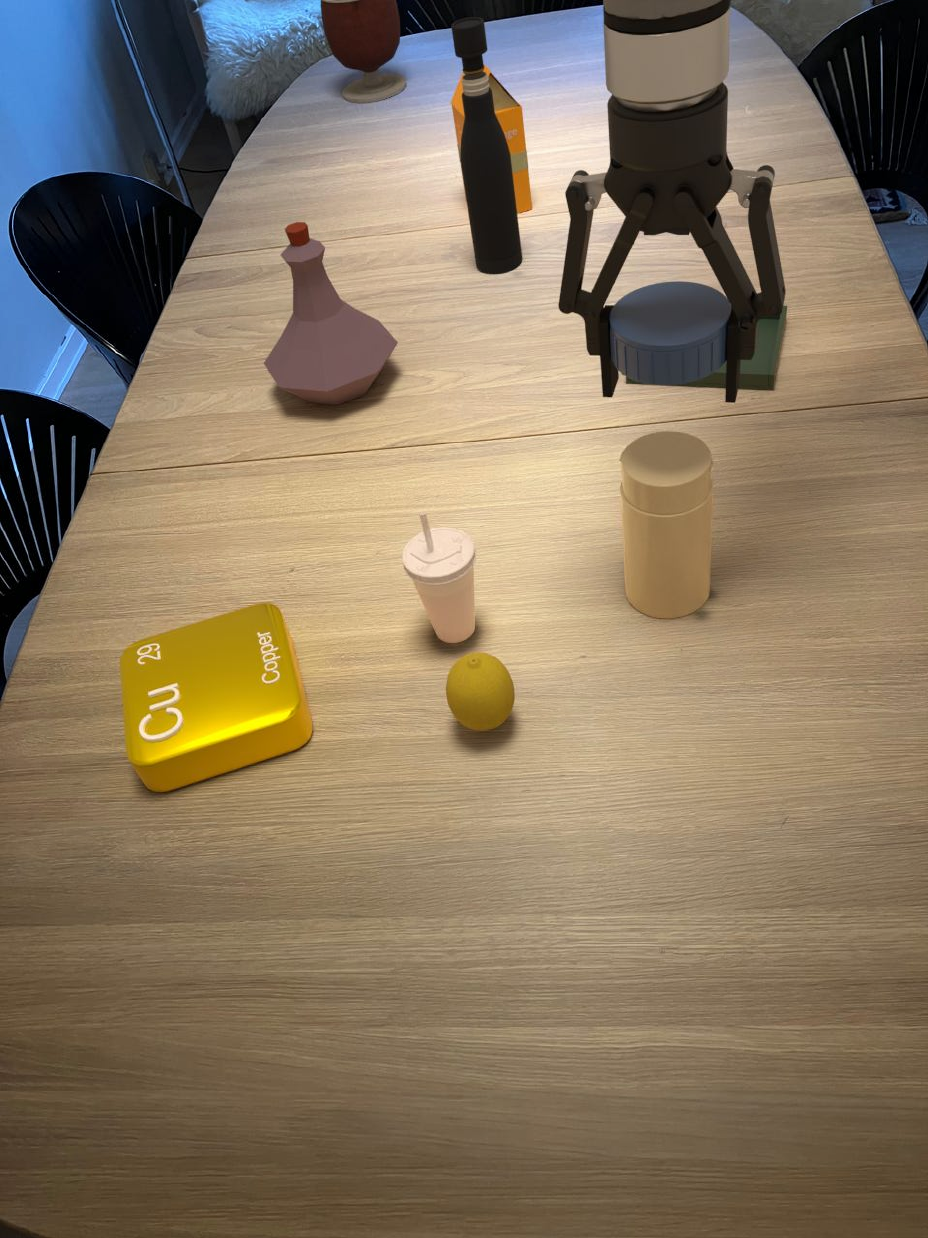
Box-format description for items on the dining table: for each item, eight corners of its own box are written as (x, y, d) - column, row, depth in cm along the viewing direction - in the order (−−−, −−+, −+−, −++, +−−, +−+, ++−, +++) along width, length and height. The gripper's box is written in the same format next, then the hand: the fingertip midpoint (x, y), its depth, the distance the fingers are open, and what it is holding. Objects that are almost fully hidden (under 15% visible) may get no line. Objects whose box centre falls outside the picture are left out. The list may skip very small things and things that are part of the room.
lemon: (444, 741, 86) (428, 680, 80) (468, 691, 89) (453, 629, 84) (507, 755, 84) (494, 693, 78) (528, 704, 87) (518, 640, 82)
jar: (715, 564, 95) (720, 432, 85) (703, 623, 91) (706, 491, 80) (633, 556, 98) (628, 426, 87) (617, 613, 93) (609, 483, 82)
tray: (786, 320, 121) (787, 305, 120) (773, 390, 112) (774, 374, 111) (648, 316, 126) (648, 302, 125) (626, 383, 117) (625, 368, 116)
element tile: (318, 745, 88) (303, 709, 84) (145, 801, 86) (123, 767, 83) (289, 627, 98) (275, 591, 95) (135, 675, 97) (115, 641, 93)
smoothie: (423, 605, 97) (394, 490, 87) (490, 600, 96) (469, 483, 87) (418, 656, 93) (387, 541, 83) (489, 651, 92) (466, 534, 82)
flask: (334, 439, 118) (287, 278, 104) (246, 397, 127) (192, 244, 113) (432, 369, 125) (401, 209, 111) (342, 333, 134) (303, 182, 120)
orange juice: (512, 187, 157) (496, 45, 143) (533, 208, 151) (518, 62, 137) (464, 201, 156) (443, 59, 142) (483, 223, 150) (463, 78, 136)
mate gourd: (338, 84, 201) (312, -33, 187) (408, 70, 200) (387, -48, 186) (340, 113, 190) (312, -9, 176) (414, 98, 190) (392, -25, 175)
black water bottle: (531, 260, 141) (505, 18, 119) (493, 278, 139) (460, 35, 117) (504, 246, 145) (474, 9, 123) (467, 263, 143) (429, 26, 121)
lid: (600, 383, 77) (597, 343, 75) (623, 318, 83) (621, 279, 80) (722, 388, 74) (723, 347, 72) (737, 321, 80) (739, 281, 78)
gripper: (851, 54, 64) (818, 367, 80) (517, 73, 71) (548, 358, 87) (844, 103, 59) (810, 425, 75) (487, 118, 66) (526, 411, 82)
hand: (670, 389), depth 81 cm, fingers closed on lid, 9 cm apart
